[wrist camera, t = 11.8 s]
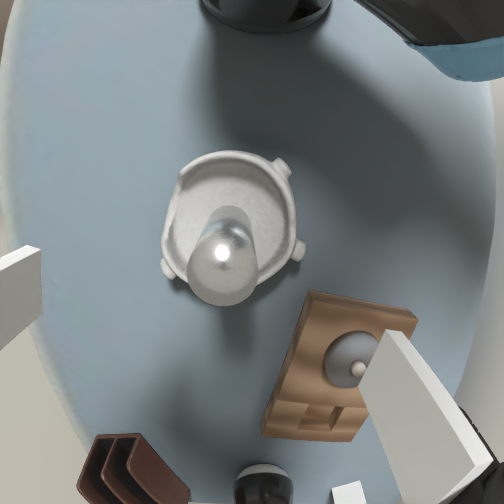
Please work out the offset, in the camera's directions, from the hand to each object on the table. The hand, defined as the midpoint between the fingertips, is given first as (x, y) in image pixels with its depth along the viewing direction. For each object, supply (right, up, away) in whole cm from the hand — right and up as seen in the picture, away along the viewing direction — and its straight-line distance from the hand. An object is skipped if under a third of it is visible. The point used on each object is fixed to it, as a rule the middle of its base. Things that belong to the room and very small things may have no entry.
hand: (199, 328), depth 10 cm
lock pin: (0, +5, +18) cm, 19 cm away
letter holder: (-18, -37, +35) cm, 54 cm away
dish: (0, +6, +23) cm, 24 cm away
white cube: (+22, -47, +38) cm, 64 cm away
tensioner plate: (+12, -14, +28) cm, 34 cm away
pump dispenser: (+4, -36, +35) cm, 50 cm away
